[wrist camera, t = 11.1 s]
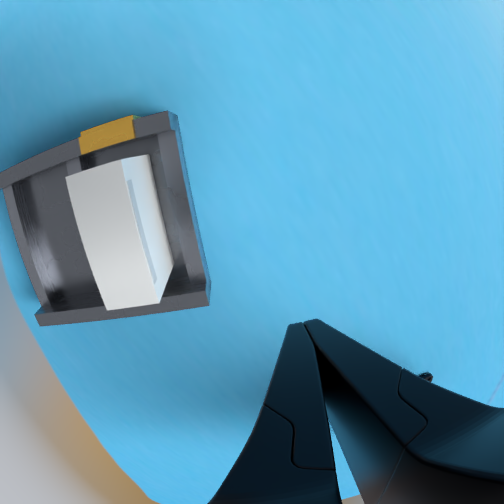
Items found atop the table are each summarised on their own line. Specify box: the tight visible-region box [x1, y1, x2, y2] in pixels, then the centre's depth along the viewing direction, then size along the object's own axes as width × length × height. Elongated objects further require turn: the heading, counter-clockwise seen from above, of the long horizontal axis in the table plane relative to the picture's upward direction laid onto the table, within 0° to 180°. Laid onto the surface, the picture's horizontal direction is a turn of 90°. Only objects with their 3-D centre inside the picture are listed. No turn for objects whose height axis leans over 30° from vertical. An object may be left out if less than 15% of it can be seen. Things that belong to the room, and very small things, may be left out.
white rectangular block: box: [65, 154, 174, 310], centre depth 15 cm, size 3×7×5 cm, turn 8°
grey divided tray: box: [0, 111, 211, 326], centre depth 16 cm, size 13×11×3 cm
